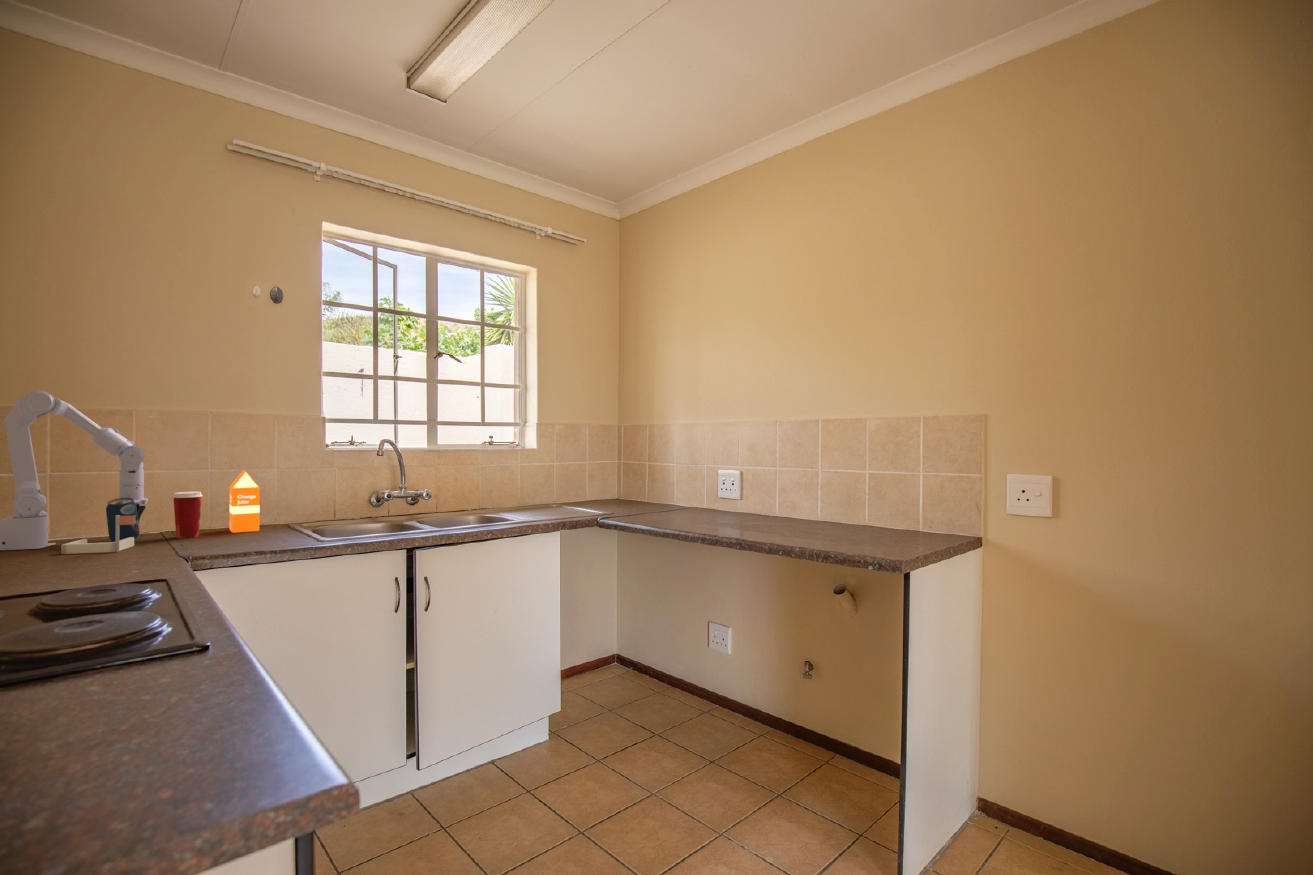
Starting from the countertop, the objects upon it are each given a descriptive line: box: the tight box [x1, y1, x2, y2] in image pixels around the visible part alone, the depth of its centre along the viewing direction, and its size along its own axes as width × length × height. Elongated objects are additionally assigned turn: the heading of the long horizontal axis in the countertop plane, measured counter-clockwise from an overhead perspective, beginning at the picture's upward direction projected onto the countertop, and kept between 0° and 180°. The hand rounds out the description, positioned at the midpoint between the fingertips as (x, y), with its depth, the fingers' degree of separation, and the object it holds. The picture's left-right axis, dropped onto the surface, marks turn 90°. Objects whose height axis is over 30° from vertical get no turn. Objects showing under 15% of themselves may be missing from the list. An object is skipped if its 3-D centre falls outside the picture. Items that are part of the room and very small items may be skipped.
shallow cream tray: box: [60, 515, 135, 555], centre depth 173 cm, size 17×11×10 cm, turn 107°
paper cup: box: [172, 491, 204, 540], centre depth 196 cm, size 8×8×14 cm
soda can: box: [105, 498, 140, 542], centre depth 185 cm, size 7×7×12 cm
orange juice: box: [229, 470, 261, 534], centre depth 211 cm, size 8×9×20 cm
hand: (131, 530), depth 190 cm, fingers closed
